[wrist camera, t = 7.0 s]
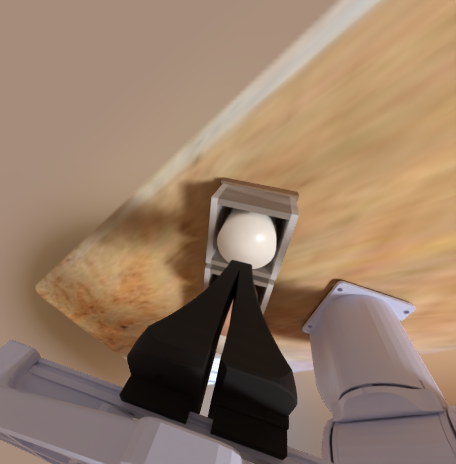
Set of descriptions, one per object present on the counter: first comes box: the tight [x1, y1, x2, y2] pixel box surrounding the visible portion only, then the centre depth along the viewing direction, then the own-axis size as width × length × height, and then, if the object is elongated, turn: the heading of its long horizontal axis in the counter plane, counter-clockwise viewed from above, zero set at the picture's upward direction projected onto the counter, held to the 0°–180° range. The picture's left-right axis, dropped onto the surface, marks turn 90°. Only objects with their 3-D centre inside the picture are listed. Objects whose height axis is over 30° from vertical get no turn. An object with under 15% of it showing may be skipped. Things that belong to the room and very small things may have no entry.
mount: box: [203, 178, 299, 315], centre depth 22 cm, size 21×7×4 cm, turn 173°
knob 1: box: [217, 208, 277, 269], centre depth 17 cm, size 5×5×4 cm
